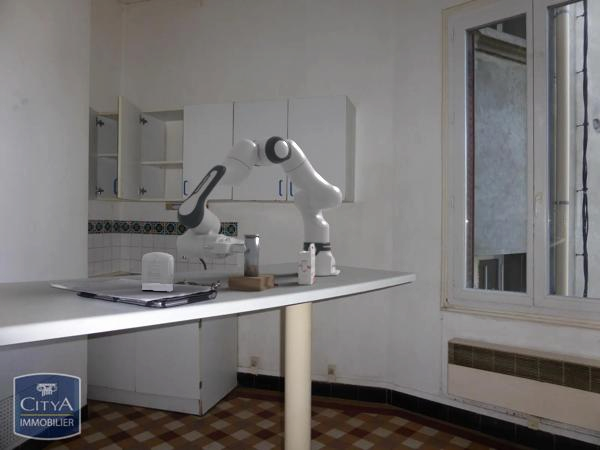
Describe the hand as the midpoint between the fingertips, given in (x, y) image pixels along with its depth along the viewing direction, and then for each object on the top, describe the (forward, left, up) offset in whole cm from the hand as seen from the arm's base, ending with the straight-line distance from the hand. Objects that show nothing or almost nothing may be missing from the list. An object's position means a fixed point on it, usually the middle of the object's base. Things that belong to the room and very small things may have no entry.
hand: (253, 247), depth 145 cm
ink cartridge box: (-21, +12, -14) cm, 27 cm away
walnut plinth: (0, 0, -14) cm, 14 cm away
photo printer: (+19, -24, -14) cm, 33 cm away
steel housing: (0, -1, -9) cm, 10 cm away
